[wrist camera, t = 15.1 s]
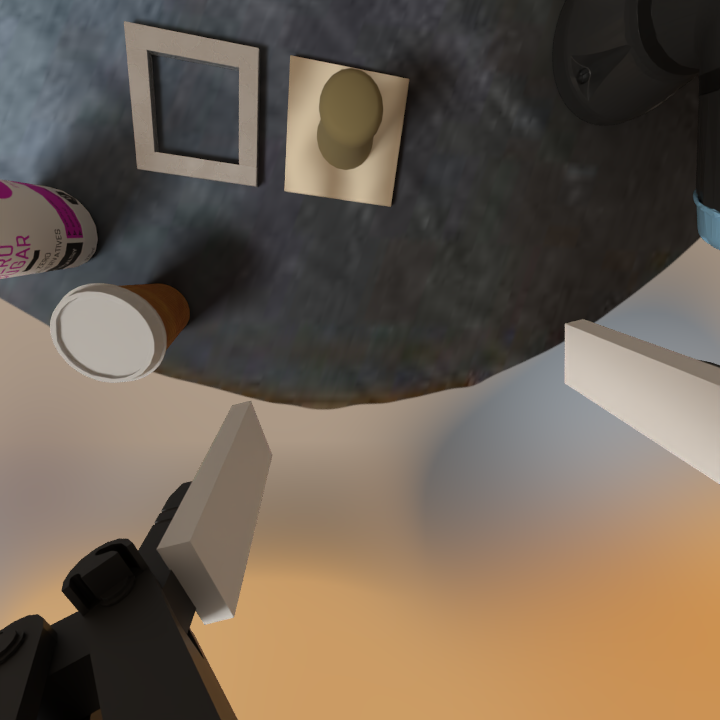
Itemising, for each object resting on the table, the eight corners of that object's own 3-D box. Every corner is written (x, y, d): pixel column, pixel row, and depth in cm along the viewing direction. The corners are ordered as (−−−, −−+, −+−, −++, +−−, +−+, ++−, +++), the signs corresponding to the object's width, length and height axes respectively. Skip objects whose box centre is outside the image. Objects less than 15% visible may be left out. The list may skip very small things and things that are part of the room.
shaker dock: (260, 52, 34) (258, 48, 33) (257, 187, 38) (256, 186, 37) (129, 27, 32) (123, 21, 31) (142, 170, 36) (137, 168, 35)
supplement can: (15, 177, 35) (-185, 144, 22) (102, 200, 37) (-33, 184, 23) (20, 255, 38) (-155, 272, 24) (101, 274, 40) (-21, 300, 26)
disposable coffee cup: (212, 340, 44) (174, 379, 32) (137, 350, 43) (71, 393, 32) (190, 264, 40) (138, 278, 29) (108, 274, 40) (23, 293, 29)
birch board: (407, 82, 36) (409, 79, 35) (389, 206, 40) (390, 206, 39) (291, 58, 34) (290, 55, 33) (285, 191, 38) (284, 190, 37)
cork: (384, 145, 37) (406, 114, 27) (340, 182, 38) (345, 165, 27) (350, 89, 35) (361, 32, 25) (304, 129, 36) (296, 90, 25)
